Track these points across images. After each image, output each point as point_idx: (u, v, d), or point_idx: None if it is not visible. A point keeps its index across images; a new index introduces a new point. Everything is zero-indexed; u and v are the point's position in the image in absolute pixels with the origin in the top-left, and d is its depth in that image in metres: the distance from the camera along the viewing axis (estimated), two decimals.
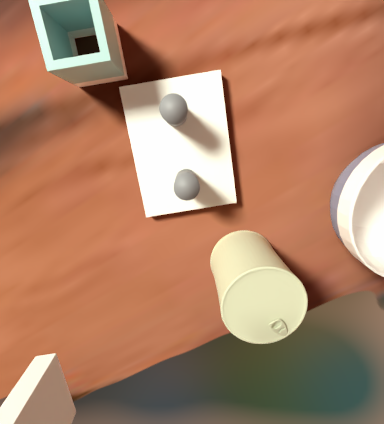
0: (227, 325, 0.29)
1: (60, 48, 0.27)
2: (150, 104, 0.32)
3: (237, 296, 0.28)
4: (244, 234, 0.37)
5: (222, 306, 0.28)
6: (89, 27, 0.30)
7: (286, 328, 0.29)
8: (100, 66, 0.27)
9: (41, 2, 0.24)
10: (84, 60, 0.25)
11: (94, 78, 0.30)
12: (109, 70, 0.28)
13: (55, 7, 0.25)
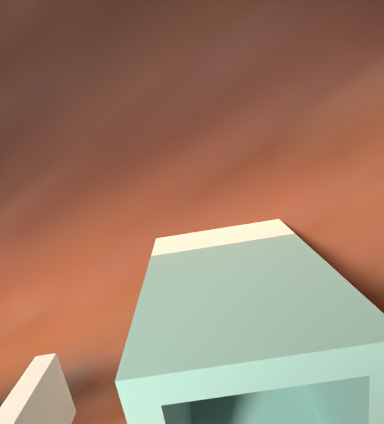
0: None
1: None
2: None
3: None
4: None
5: None
6: None
7: None
8: None
9: (172, 397, 0.06)
10: None
11: None
12: None
13: None
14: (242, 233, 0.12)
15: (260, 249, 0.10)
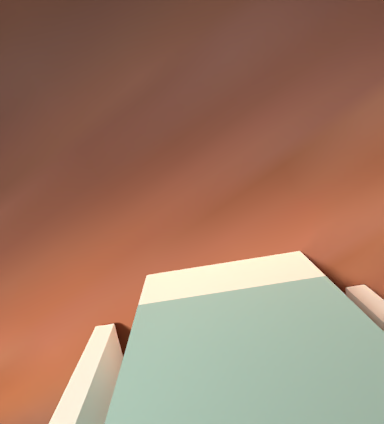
0: None
1: None
2: None
3: None
4: None
5: None
6: None
7: None
8: None
9: None
10: None
11: None
12: None
13: None
14: (255, 272, 0.10)
15: (283, 301, 0.08)
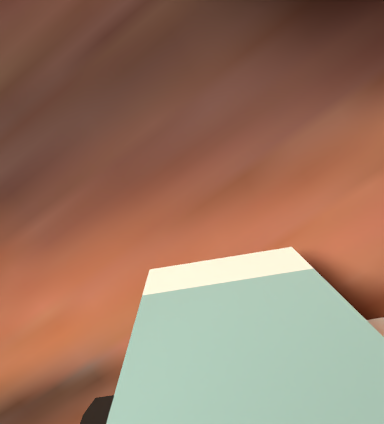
0: None
1: None
2: None
3: None
4: None
5: None
6: None
7: None
8: None
9: None
10: None
11: None
12: None
13: None
14: (250, 266, 0.10)
15: (274, 290, 0.09)
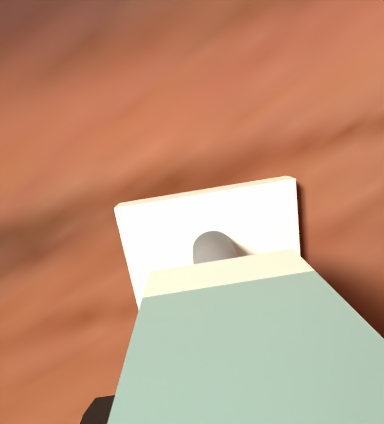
0: None
1: None
2: (170, 235, 0.19)
3: None
4: None
5: None
6: None
7: None
8: None
9: None
10: None
11: None
12: None
13: None
14: (251, 268, 0.10)
15: (275, 293, 0.08)
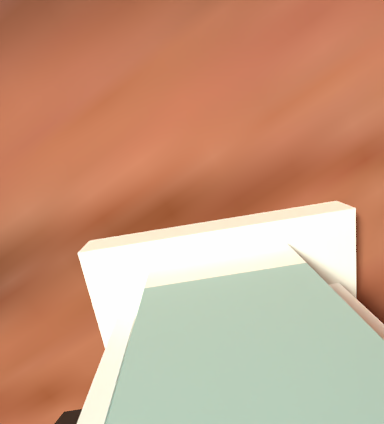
0: None
1: None
2: None
3: None
4: None
5: None
6: None
7: None
8: None
9: None
10: None
11: None
12: None
13: None
14: (246, 260, 0.11)
15: (268, 283, 0.09)
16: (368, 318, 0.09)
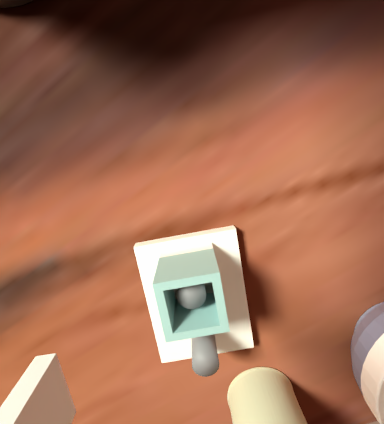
0: None
1: (170, 301, 0.27)
2: None
3: None
4: (262, 375, 0.36)
5: None
6: None
7: None
8: None
9: (165, 288, 0.24)
10: (203, 332, 0.25)
11: None
12: None
13: None
14: (194, 248, 0.31)
15: (198, 254, 0.29)
16: None
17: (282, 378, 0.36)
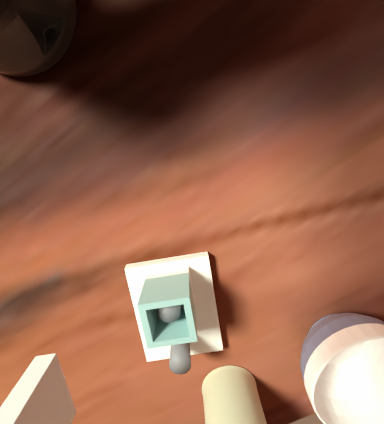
0: None
1: (152, 315, 0.34)
2: None
3: None
4: (230, 372, 0.44)
5: None
6: None
7: None
8: None
9: (147, 308, 0.31)
10: (177, 341, 0.32)
11: None
12: None
13: None
14: (174, 271, 0.38)
15: (176, 277, 0.36)
16: None
17: (246, 375, 0.44)
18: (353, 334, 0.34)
